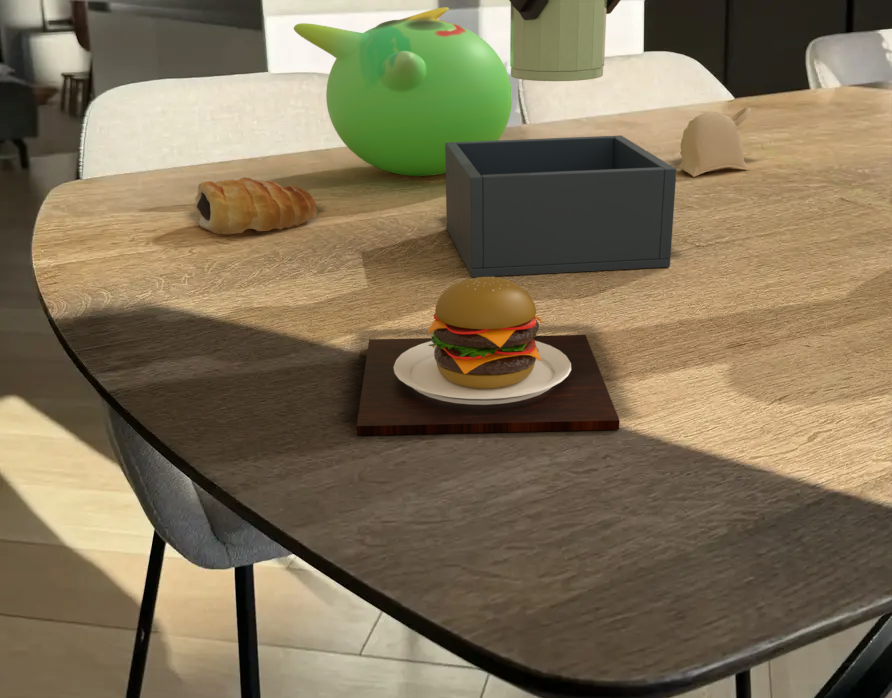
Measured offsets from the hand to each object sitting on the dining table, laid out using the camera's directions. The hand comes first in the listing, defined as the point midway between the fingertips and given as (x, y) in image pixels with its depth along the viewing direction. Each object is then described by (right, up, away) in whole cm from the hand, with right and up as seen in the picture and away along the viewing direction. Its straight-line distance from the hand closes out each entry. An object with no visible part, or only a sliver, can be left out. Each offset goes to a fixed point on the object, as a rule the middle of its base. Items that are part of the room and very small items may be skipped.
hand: (576, 7), depth 72 cm
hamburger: (-7, -26, -16) cm, 31 cm away
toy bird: (-11, -3, +34) cm, 36 cm away
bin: (-1, -14, +8) cm, 16 cm away
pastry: (-24, -11, +16) cm, 31 cm away
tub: (-1, -3, +3) cm, 5 cm away
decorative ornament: (+17, -2, +33) cm, 37 cm away
